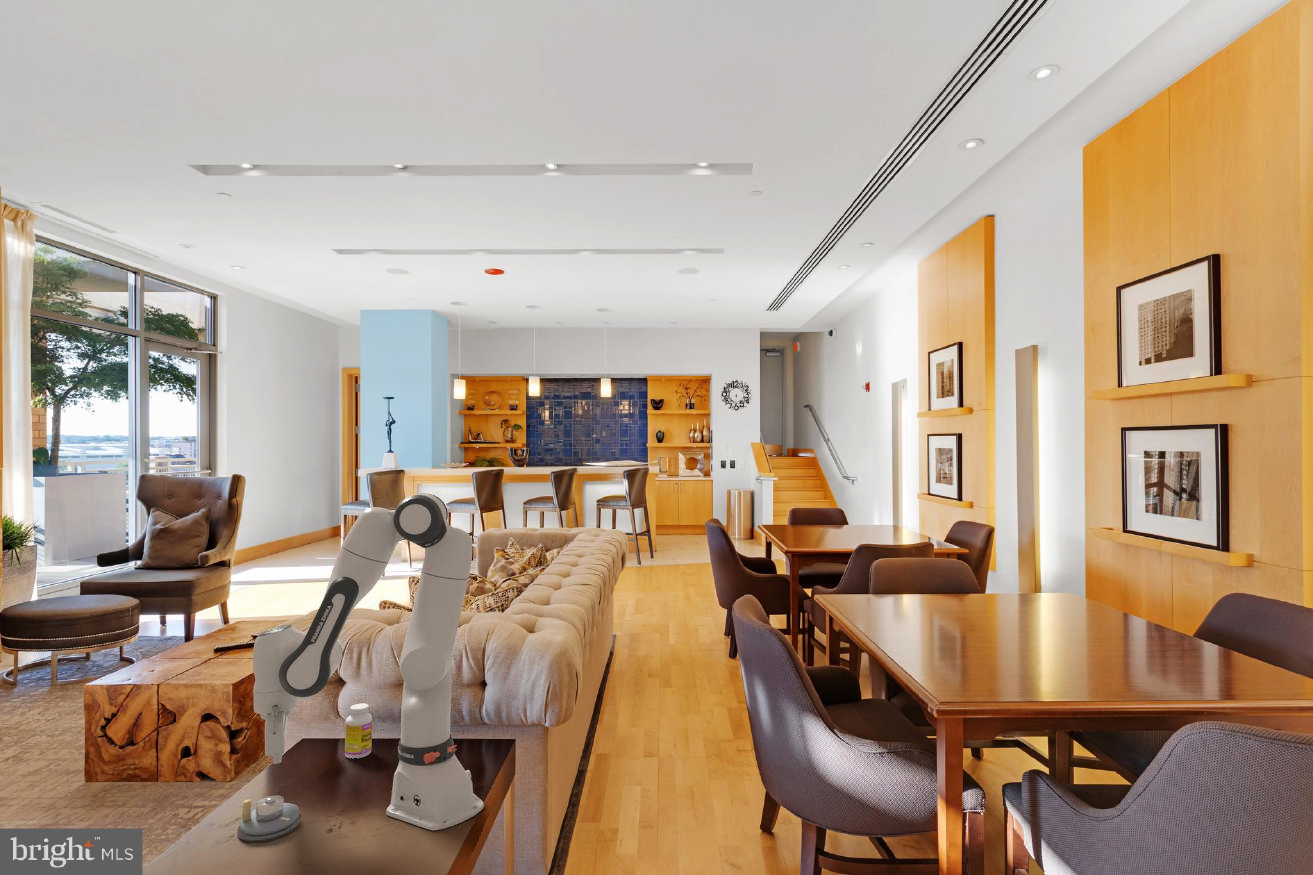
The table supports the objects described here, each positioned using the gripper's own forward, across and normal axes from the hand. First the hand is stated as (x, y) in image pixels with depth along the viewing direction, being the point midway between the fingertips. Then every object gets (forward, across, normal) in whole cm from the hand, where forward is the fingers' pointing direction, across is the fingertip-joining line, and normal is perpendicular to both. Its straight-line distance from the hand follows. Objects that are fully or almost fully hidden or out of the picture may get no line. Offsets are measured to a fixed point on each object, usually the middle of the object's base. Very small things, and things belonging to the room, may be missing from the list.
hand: (277, 761), depth 155 cm
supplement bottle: (+12, +26, -18) cm, 34 cm away
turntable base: (+11, -6, +1) cm, 13 cm away
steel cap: (+9, -7, +1) cm, 11 cm away
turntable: (+10, -6, +1) cm, 12 cm away
